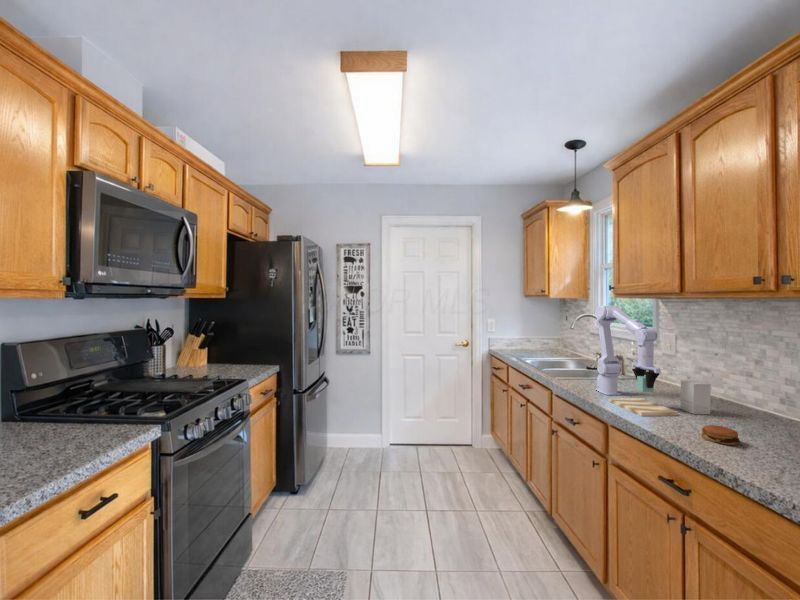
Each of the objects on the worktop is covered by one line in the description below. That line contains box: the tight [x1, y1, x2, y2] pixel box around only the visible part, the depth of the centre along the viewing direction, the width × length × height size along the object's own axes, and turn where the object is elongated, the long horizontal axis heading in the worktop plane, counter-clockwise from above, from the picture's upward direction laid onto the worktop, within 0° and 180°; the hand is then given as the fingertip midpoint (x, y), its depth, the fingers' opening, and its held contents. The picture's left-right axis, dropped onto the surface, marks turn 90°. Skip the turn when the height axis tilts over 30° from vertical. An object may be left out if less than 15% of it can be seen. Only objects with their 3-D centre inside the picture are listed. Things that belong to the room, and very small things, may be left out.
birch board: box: [608, 397, 679, 417], centre depth 158 cm, size 20×16×2 cm
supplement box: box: [679, 379, 712, 415], centre depth 155 cm, size 7×7×13 cm
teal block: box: [636, 376, 655, 393], centre depth 161 cm, size 4×4×6 cm
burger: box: [701, 424, 741, 446], centre depth 123 cm, size 10×9×5 cm
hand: (645, 386), depth 161 cm, fingers closed on teal block, 5 cm apart
